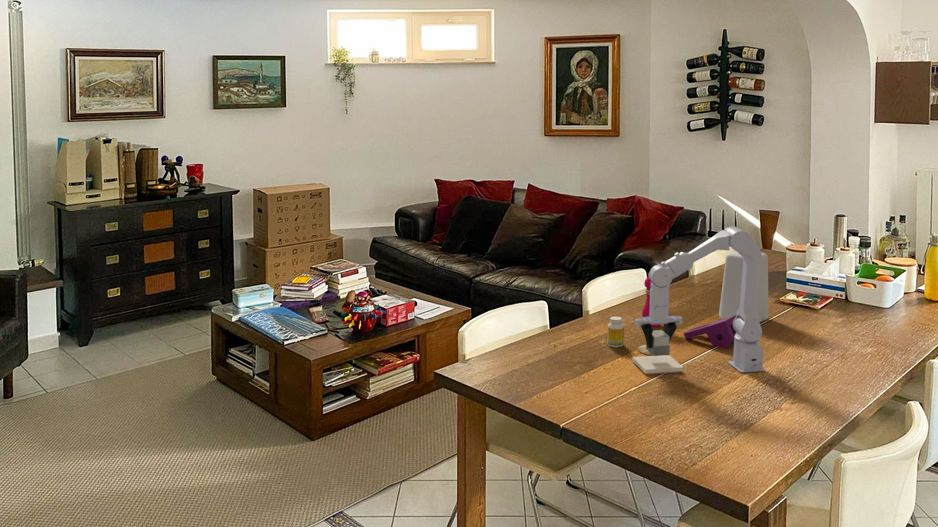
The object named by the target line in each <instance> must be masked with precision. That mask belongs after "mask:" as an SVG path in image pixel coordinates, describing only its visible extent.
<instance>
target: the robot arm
mask: <svg viewBox="0 0 938 527" xmlns="http://www.w3.org/2000/svg"><path fill="white" fill-rule="evenodd" d="M730 249H732V250H733V251H737V252H738V253H739V254H740V255H741V256H742V257H743V270H742V283H741V296H740V307H739V309H738V310H737V315H736V318H735V319H734V321H733V328H734V330H735V331H736V334H735V336H734V343H733V357H732V359H733V360H728V361H727V363H728V364H729V365H730V366H731V367H733V368H734V369H736V370H737V371H738V372H739V373H755V372H766V369H765V368H764V366H763V364H764V350H763V348H762V346H761V345H760V338H761V337H762V334H763V329H762V326H761V322H760V318H759V314H758V311H757V307H758V295H759V283H760V271H761V259H762V253H763V252H762V251H761V249H760V247H759V246H758V244H757V243H756V240H755V237H753V236H752V234H750V233H749V232H746V231H744V230H742V229H741V228H740V227H738V226H736V225H735V226H734V225H731V226H729V227H726V228H725V229H722V230H720V231H718V232H717V233H716V234H715V235H713V236H712V237H710V238H708V239H707V240H705V241H704V242H702V243H700V244H699V245H698V246H696V247H695V248H693V249H692V250H690V251H688V252H684V251H681V252H680V253H679V252H678V251H677V252H675V253H674V254H673V255H674V256H672V257H670V258H669V259H667V260H665V261H662V262H660V264H655V265H654V266H652V267H651V268H650V270H649V272H648V273H647V274H648V277H649V278H650V280H651V289H650V312H649V317H640V318H639V317H638V318H635V319H634V326H636V327H640V328H641V330H642V331H643V335H644V338H645V344H646V343H647V347H648V348H651V346H652V333H653V331H654V329H653V327H651V325H657V324H660V325H663V331H664V332H665V333H666V334H667V335H668V336H669V344H671V340H672V338H673V335H674V333H675V332H676V331H677V327H678V325H682V324H683V317H682V316H680V315H678V316H677V315H669V309H670V308H669V307H670V306H669V305H670V284H672V281H673V280H674V279H676V278H677V277H679V276H681V275H683V274H684V273H686V272H687V271H689V270H691V269H693V266H694V263H695V262H697V261H699V260H701V259H702V258H705V257H707V256H708V255H710V254H712V253H714V252H716V251H718V250H720V251H731V250H730ZM761 252H762V253H761ZM677 324H678V325H677Z"/></svg>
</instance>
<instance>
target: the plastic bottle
mask: <svg viewBox="0 0 938 527" xmlns="http://www.w3.org/2000/svg"><path fill="white" fill-rule="evenodd" d="M761 253H762V259H761V271H760V283H759V295H758V307H757V311H758V314H759V318H760V323H762V322H764V321H767V320H768V319H769V317H770V315H769V314H770V313H769V311H770V310H769V308H770V307H769V256H768V254H767V253H765V252H762V251H761ZM742 270H743V257H742V256H741V255H740V254H739V253H738V252H737V251H735V250H733V251H731V252H728V253H727V254H726V255H725V261H724V269H723V278H722V285H721V286H722V288H721V293H720V303H719V311H718V315H719V318H720V320H721V319H725V318H728V317H731V316H734V315H737V310H738V309H739V307H740V296H741V283H742Z"/></svg>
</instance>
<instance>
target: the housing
mask: <svg viewBox="0 0 938 527" xmlns="http://www.w3.org/2000/svg"><path fill="white" fill-rule="evenodd" d="M645 345H646V349H647V350H648V351H649V352H650V353H651V354H652V355H651V356H663V355H670V349H671V348H670V347H671V346H670V343H669V336H668V335H667V334H666V333H665V332H664V330H662V329H659V330H654V329H653V333H652V346H651V348H648V347H647V343H646V342H645Z"/></svg>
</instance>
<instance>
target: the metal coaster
mask: <svg viewBox="0 0 938 527" xmlns="http://www.w3.org/2000/svg"><path fill="white" fill-rule="evenodd" d="M637 351H638V352H639V353H640V354H643V355H646V356H647V355H648V356H653V355H652V354H651V353H650V352H649V351H648V350H647V349H646V344H643V345H639V346H638V347H637Z"/></svg>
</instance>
